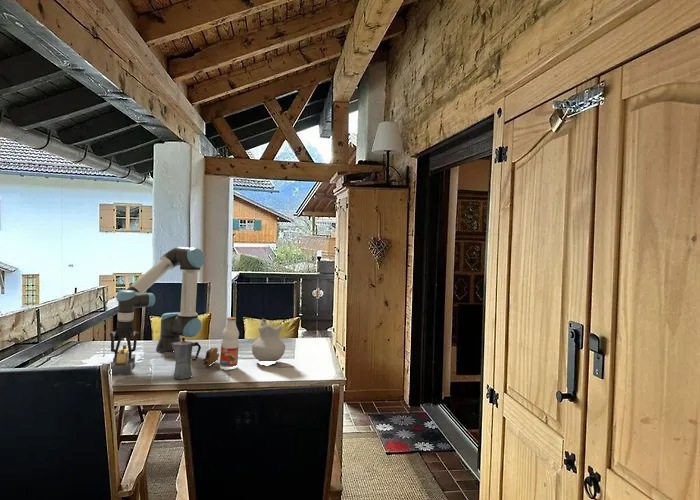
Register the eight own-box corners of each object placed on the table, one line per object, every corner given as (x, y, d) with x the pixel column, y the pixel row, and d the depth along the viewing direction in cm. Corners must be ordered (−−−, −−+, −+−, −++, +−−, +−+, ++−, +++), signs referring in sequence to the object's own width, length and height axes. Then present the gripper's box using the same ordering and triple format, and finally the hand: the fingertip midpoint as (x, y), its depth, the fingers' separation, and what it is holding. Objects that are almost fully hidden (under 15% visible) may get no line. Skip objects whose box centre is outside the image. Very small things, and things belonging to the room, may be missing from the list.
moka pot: (171, 373, 225) (173, 335, 225) (201, 374, 227) (204, 336, 227) (164, 379, 216) (167, 339, 216) (196, 380, 217) (199, 340, 217)
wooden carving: (211, 361, 252) (212, 344, 252) (219, 362, 252) (220, 345, 252) (200, 369, 236) (201, 351, 236) (209, 370, 236) (210, 351, 236)
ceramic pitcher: (242, 362, 259) (242, 321, 257) (269, 355, 273) (269, 316, 271) (264, 371, 244) (264, 327, 242) (291, 363, 258) (292, 322, 256)
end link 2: (130, 374, 219) (131, 365, 219) (108, 375, 216) (108, 366, 216) (132, 370, 227) (132, 361, 227) (110, 371, 223) (111, 362, 223)
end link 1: (114, 362, 237) (115, 354, 237) (134, 362, 241) (135, 354, 241) (112, 367, 230) (113, 358, 230) (133, 366, 233) (134, 358, 233)
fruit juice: (240, 367, 244) (243, 317, 244) (230, 371, 236) (233, 320, 235) (226, 364, 248) (230, 315, 248) (215, 368, 239) (219, 317, 239)
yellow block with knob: (119, 362, 234) (121, 344, 234) (128, 361, 236) (129, 344, 236) (116, 369, 220) (117, 351, 220) (124, 369, 222) (126, 350, 222)
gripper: (105, 321, 221) (102, 367, 221) (142, 321, 228) (139, 366, 228) (108, 318, 228) (105, 363, 228) (143, 319, 235) (141, 362, 235)
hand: (122, 364), depth 228 cm, fingers closed on yellow block with knob, 4 cm apart
